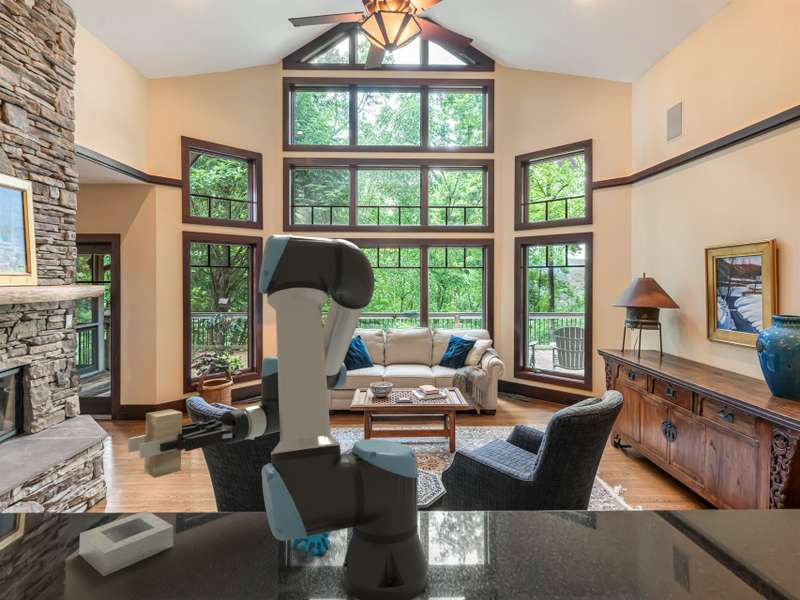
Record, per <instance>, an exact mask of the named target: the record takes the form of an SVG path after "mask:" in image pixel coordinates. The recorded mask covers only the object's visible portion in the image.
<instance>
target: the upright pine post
mask: <svg viewBox="0 0 800 600" xmlns="http://www.w3.org/2000/svg"><path fill="white" fill-rule="evenodd" d="M182 425H183V412H182V411H179V410H176V409H172V408H171V409H170V408H169V409H165V410H164V409H163V410H159V411H157V410H156V411H153V412H146V413H145V434H144V435H145V442H150V441H155V440H160V439H164V438H169V437H173V436H176V440H178V434H180V433H181V434H182ZM143 471H144V473H145V474H147V475H149V476H151V477H153V478H154V479H156V478H159V477H163V476H167V475H169V474H174V473H177V472H180V471H182V450H178V448H177V449H176V450H175V451H170V452H166V453H162V454H158V455H154V456H150V457H146V458H144V470H143Z"/></svg>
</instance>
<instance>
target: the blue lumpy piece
mask: <svg viewBox="0 0 800 600" xmlns="http://www.w3.org/2000/svg"><path fill="white" fill-rule="evenodd" d="M329 536H330V532H327V533H322V534H318V535H313V536H308V537H307V538H306V539H302V538H299V539H293V542H292V543H291V547H292V548H294V549H295V548H297V547H298V546H299V545H300V544H301V543H302V542H304V543H302V544H301V545H300V547H299V548H300V549H301V551H302V552H304V553H306V552H307V551H308V549H309V547H310V546H311V548H312V549H311V550H309V554H310V555H311V556H313V557H316V555H318V554H319V555H323V554H324V553H326V551H327V549H326V548H327V547H328V546H329V545H330V543H331V541H330V540H329V539H328V537H329Z"/></svg>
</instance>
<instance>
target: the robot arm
mask: <svg viewBox="0 0 800 600" xmlns="http://www.w3.org/2000/svg"><path fill="white" fill-rule="evenodd" d="M261 259H262V260H261V265H260V271H259V273H260V274H259V281H258V292H259V293H261V294H263V295H266V296H267V298H266V300H267V301H266V302H267V304H268V305H269V306H270V307H271V308H273V310H274V311H275V323H276V328H275V329H276V350H277V351H276V352H277V353H276V355H270V356H267V357H266V356H265V358H263V360H262V363H261V364H262V365H261V373H260V377H261V378H260V380H261V381H260V383H261V386H260V387H261V390H260V392H261V394H260V395H261V397H260V400H261V401H260V404H258V405H251V406H245V407H241V408H237V409H231V410H227V411H224V412H223V413H222V414H221V416H220V419H219V420H217V419H211V420H208V421H205V420H203V419H200V420H197V421H195V422H190V423H184V424H182V434H181V433H180V434H178V440H176V436H173V437H169V438H164V439H160V440H155V441H150V442H145V435H146V434H143V435H138V436H133V437H128V438H127V441H128V442H127V453H133V452H139V459H145V458H146V457H150V456H154V455H158V454H162V453H166V452H170V451H175V450H176V449H177V448H178V450H181V451H182V450H183V451H185V452H190V451H193V450H197V449H201V448H205V447H209V446H214V445H217V444H218V445H219V444H221V443H222V444H223V443H226V444H228V445H229V444H235V443H239V442H243V441H245V440H251V441H252V440H253V441H254V440H255V438H257V437H260V436H265V435H270V434H273V433H278V432H279V442H278V443H277V445H276V446H275V448H273V450H272V451H271V452H270V456H271V457H270V460H271V461H270V463H267V464H265V465H263V466H262V469H261V478H262V481H261V486H262V493H263V501H264V507H265V512H266V517H267V521H268V524H269V529H270V531H271V534H272V535H273V537H274V538H275V539H277V540H278V541H282V542H283V541H284V542H286V541H292V540H293V539H299V538H302V539H306V538H307V537H308V536H313V535H318V534H322V533H327V532H329V533H331V532H334V531H335V532H336V531H340V530H344V529H350V528H352V535H351V536H350V541H349V544H348V547H347V550H346V553H345V556H344V559H343V562H342V570H341V571H342V572H341V573H342V576H341V577H342V578H341V579H342V580H341V581H342V585H343V588H344V589H345V591H346V592H347V593H348V594H349V595H350V596H352V597H353V598H355V599H356V600H411V599H413V598H415V597H416V596H418V595H419V594H420V593H422V592H423V590H424V589H425V588H426V585H427V583H428V578H429V577H428V570H429V569H428V567H429V566H428V561H427V558H426V556H425V554H424V550H423V545H422V542H421V538H420V536H419V532H418V531H419V530H418V529H419V528H418V526H419V525H418V517H419V516H418V512H419V509H418V507H419V505H418V504H419V502H418V501H419V500H418V499H419V497H418V496H419V495H418V494H419V493H418V490H419V487H418V486H419V485H418V484H419V483H418V482H419V480H418V479H419V470H418V459H417V454H416V453H415V451H414V450H413V449H412V448H410V447H409V446H408V445H405V444H403V443H399V442H396V441H392V440H386V439H375V438H369V439H361V440H359V441H356V442H354V444H353V447H352V448H351V452H350V453H343V454H342V452H341V443H340V442H339V441H338V440H337V439H335V438H334V437H333V436H332V434H331V423H330V422H331V421H330V411H329V409H330V408H329V406H330V405H329V395H328V390H329V391H332V390H336V389H342V388H344V386H345V385H346V383H347V377H348V372H347V366H346V363H344V362H345V358H346V355H347V352H348V350H349V347H350V344H351V342H352V339H353V336H354V333H355V331H356V328H357V326H358V323H359V322H360V320H359V319H360V317H361V315H362V312H363V311H364V310H363V309H365V308H367V307H368V306H369V305H370V303H371V300H372V298H373V295H374V292H375V287H376V285H375V284H376V283H375V274H374V269H373V266H372V264H371V262H370V259H369V258H368V256H367V255H366V254H365V252H364V251H363V250H362V249H361V248H359V246H357V245H356V244H354V243H353V242H351V241H348V240H345V239H340V238H334V239H333V238H327V237H326V238H325V237H324V238H323V237H314V236H302V235H301V236H300V235H292V234H288V235H287V234H273V235H270V236H269V237H267V239H266V241H265V245H264V249H263V255H262V258H261ZM329 297H330V298H331V300H330V302H329ZM328 302H329V303H330V304H329V307H328V310H327V313H326V317H325V319H324V320H325V321H324V324H323V312H322V308H323V307H324V306H325V305H326V304H327V303H328ZM293 541H294V540H293Z"/></svg>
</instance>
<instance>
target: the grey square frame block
mask: <svg viewBox="0 0 800 600" xmlns="http://www.w3.org/2000/svg"><path fill="white" fill-rule="evenodd" d="M173 547H174V525H172V524H171V523H169V522H167V521H165V520H164V519H162V518H160V517H159V516H157V515H155V514H153V513H152V512H150V511H148V510H143V511H141V512H137V513H135V514H132V515H129V516H126V517H123V518H121V519H117V520H114V521H111V522H108V523H106V524H103V525H100V526H98V527H97V526H96V527H94V528H91V529H89V530H85V531H83V532H80V533H79V551H78V552H79V553H78V555H79V556H80V557H82V558H83V559H84V560H85V561H86V562H87V563H88V564H89V565H91V566H92V567H93V568H94V569H95V570H96V571H97V572H98V573H99V574H100V575H101V576H103V577H106V576H107V575H108V576H109V575H110V574H113V573H114V572H115V573H116V572H118V571H119V570H121V569H122V570H123V569H125V568H126V567H129V566H131V565H133V564H136V563H138V562H141V561H143V560H144V559H148V558H149V557H152V556H154V555H157V554H158V553H161V552H163V551H166V550H169V549H170V548H173Z"/></svg>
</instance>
